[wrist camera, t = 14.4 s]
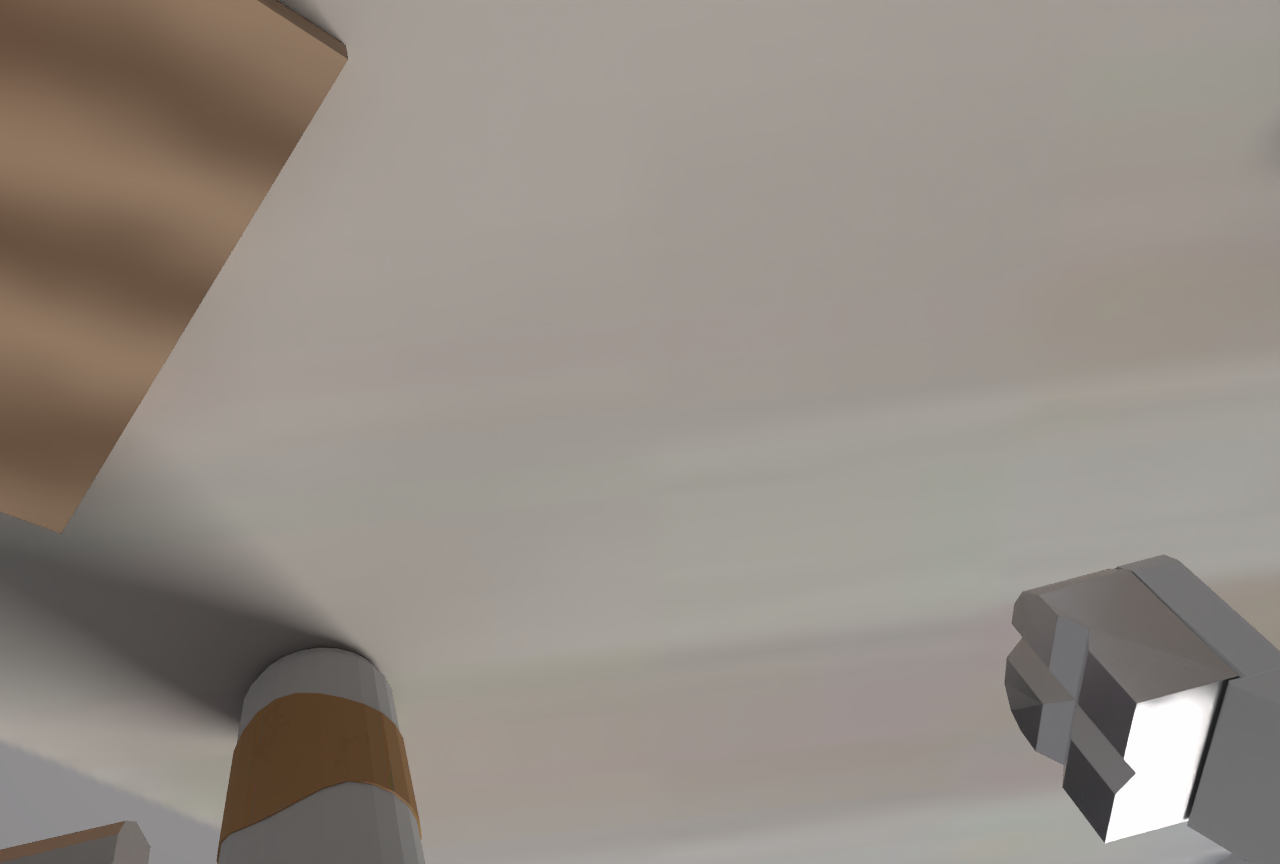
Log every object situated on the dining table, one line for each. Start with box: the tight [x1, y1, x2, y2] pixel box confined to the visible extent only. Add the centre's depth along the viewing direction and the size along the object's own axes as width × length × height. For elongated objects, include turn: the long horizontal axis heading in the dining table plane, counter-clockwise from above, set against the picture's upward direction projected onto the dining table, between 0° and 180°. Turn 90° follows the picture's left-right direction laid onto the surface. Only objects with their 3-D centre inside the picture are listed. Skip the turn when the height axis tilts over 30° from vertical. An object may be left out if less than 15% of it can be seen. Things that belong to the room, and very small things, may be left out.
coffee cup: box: [217, 648, 425, 864], centre depth 43 cm, size 8×8×15 cm
